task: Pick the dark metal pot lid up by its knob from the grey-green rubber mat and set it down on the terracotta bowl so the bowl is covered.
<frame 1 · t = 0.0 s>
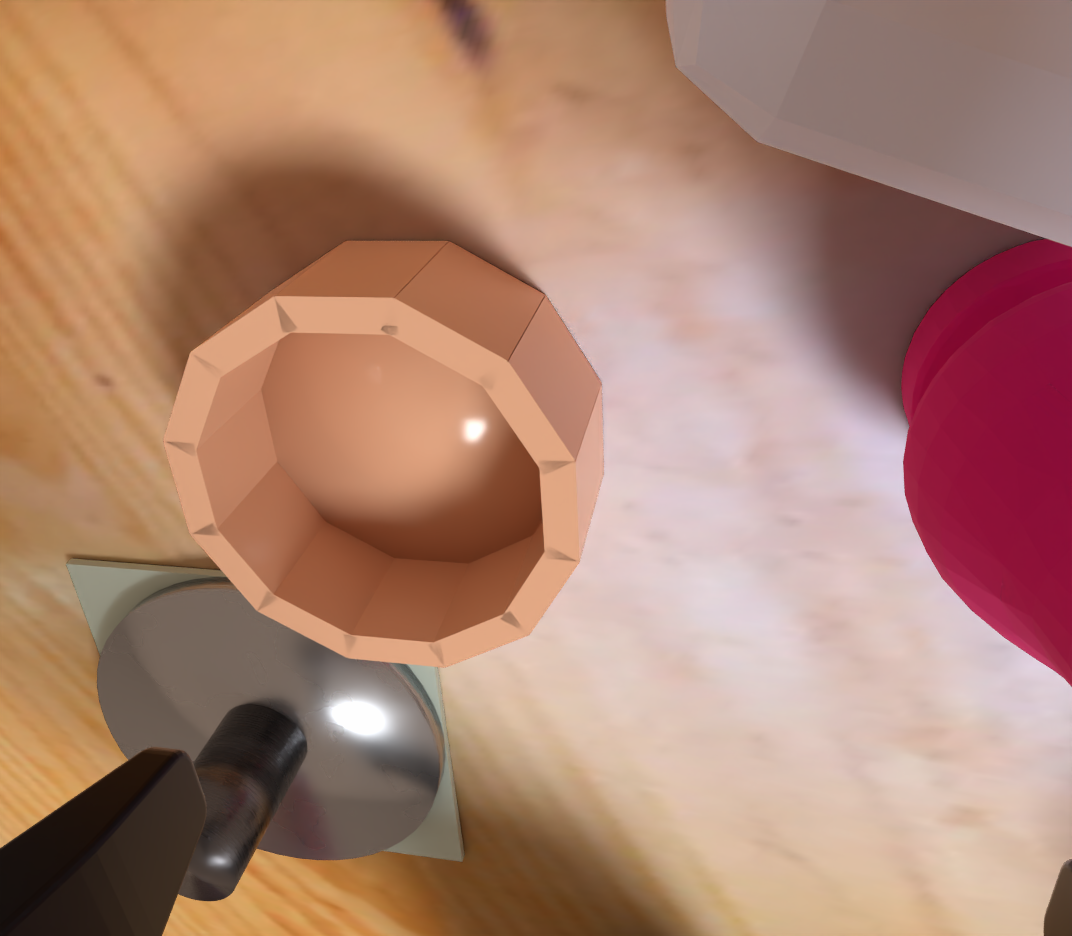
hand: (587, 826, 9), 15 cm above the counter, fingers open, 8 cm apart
lid: (275, 720, 32), resting on mat
bowl: (420, 422, 25), on the counter
mat: (278, 714, 32), on the counter
pepper mill: (1045, 365, 21), on the counter, touching gripper
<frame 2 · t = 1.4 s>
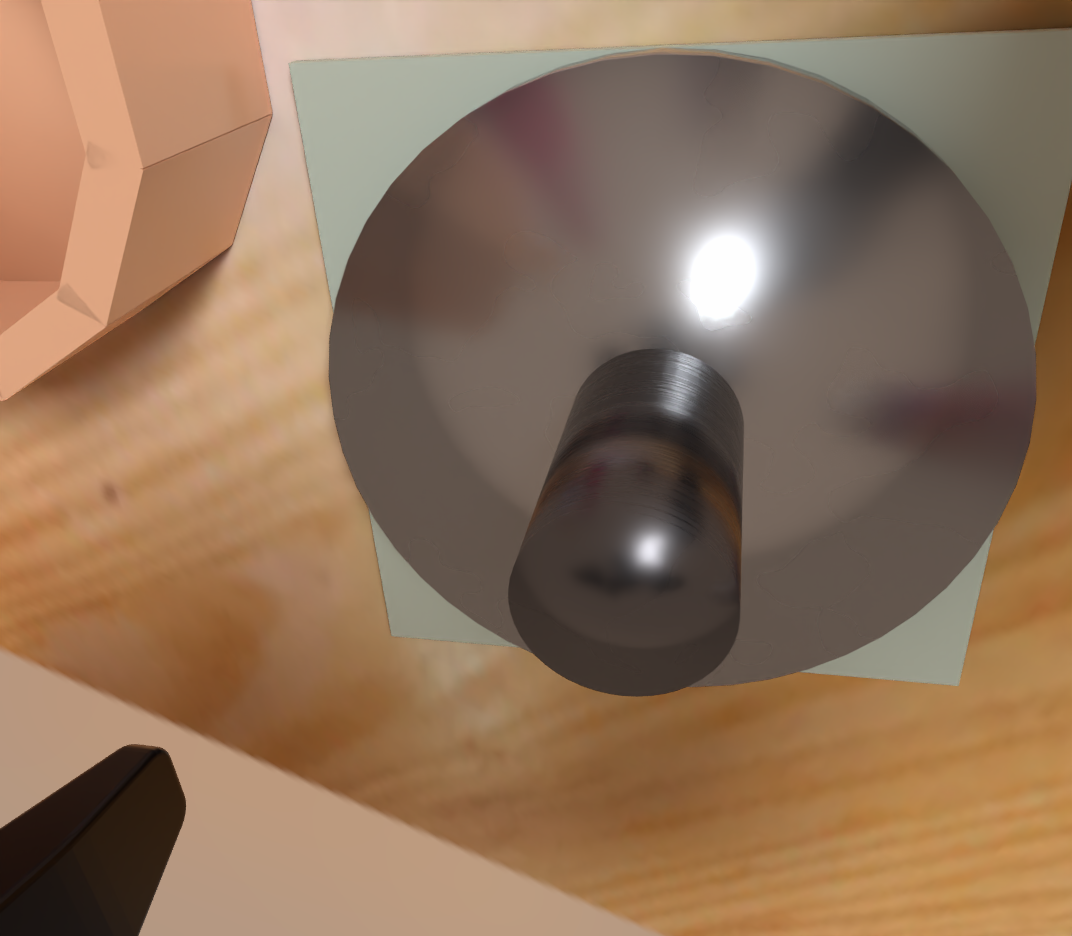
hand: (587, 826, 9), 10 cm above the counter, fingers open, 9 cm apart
lid: (659, 407, 17), resting on mat
mat: (661, 400, 17), on the counter
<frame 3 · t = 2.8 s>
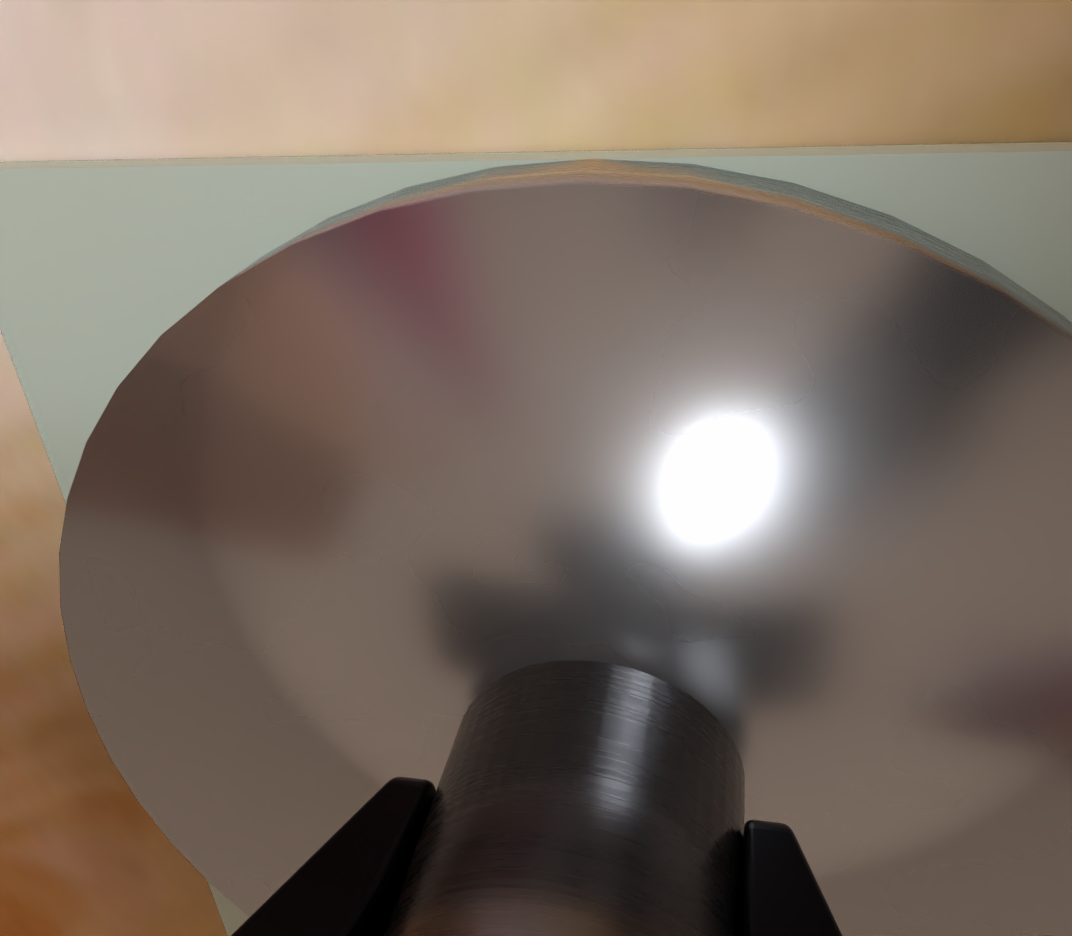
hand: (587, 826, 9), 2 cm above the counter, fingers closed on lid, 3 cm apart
lid: (607, 714, 10), resting on mat, touching gripper
mat: (610, 695, 11), on the counter
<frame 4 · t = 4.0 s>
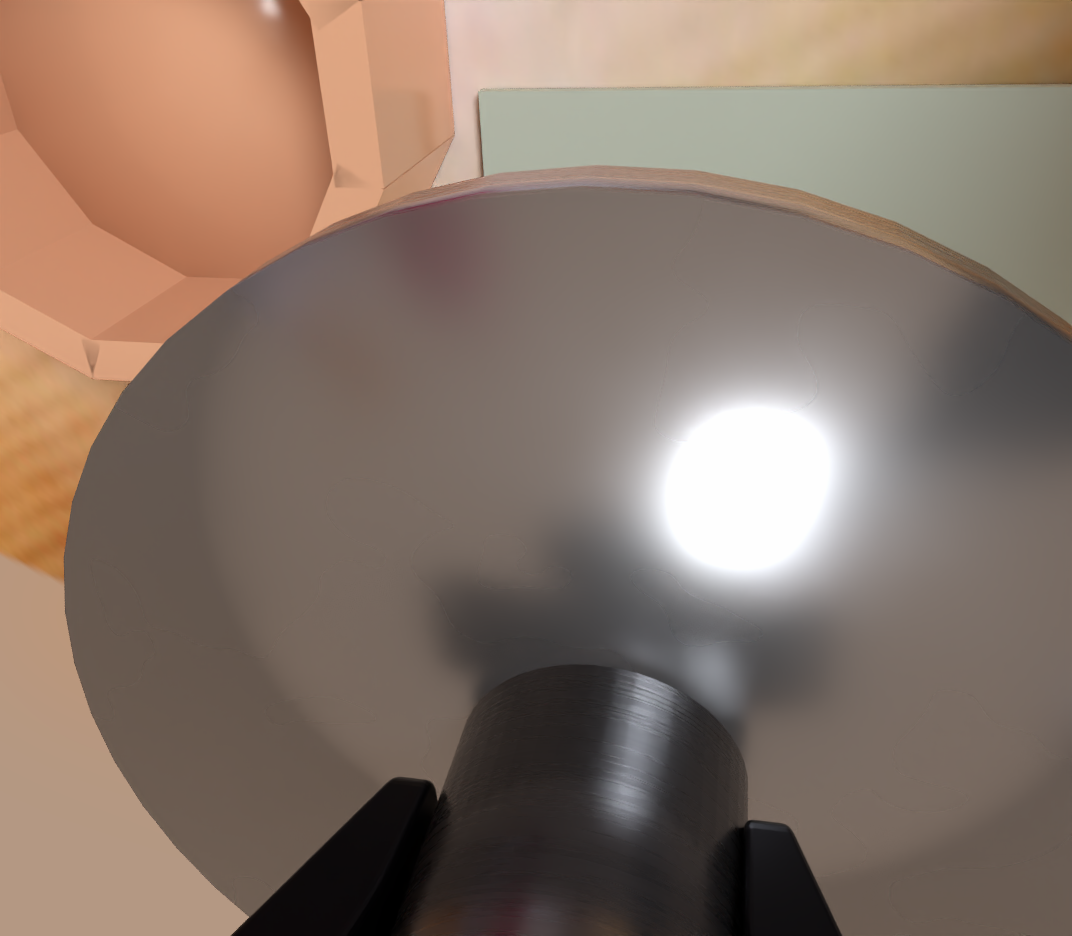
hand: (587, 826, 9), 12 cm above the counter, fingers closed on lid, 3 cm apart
lid: (610, 717, 10), point 10 cm above the counter, touching gripper
bowl: (205, 63, 18), on the counter
mat: (785, 397, 19), on the counter
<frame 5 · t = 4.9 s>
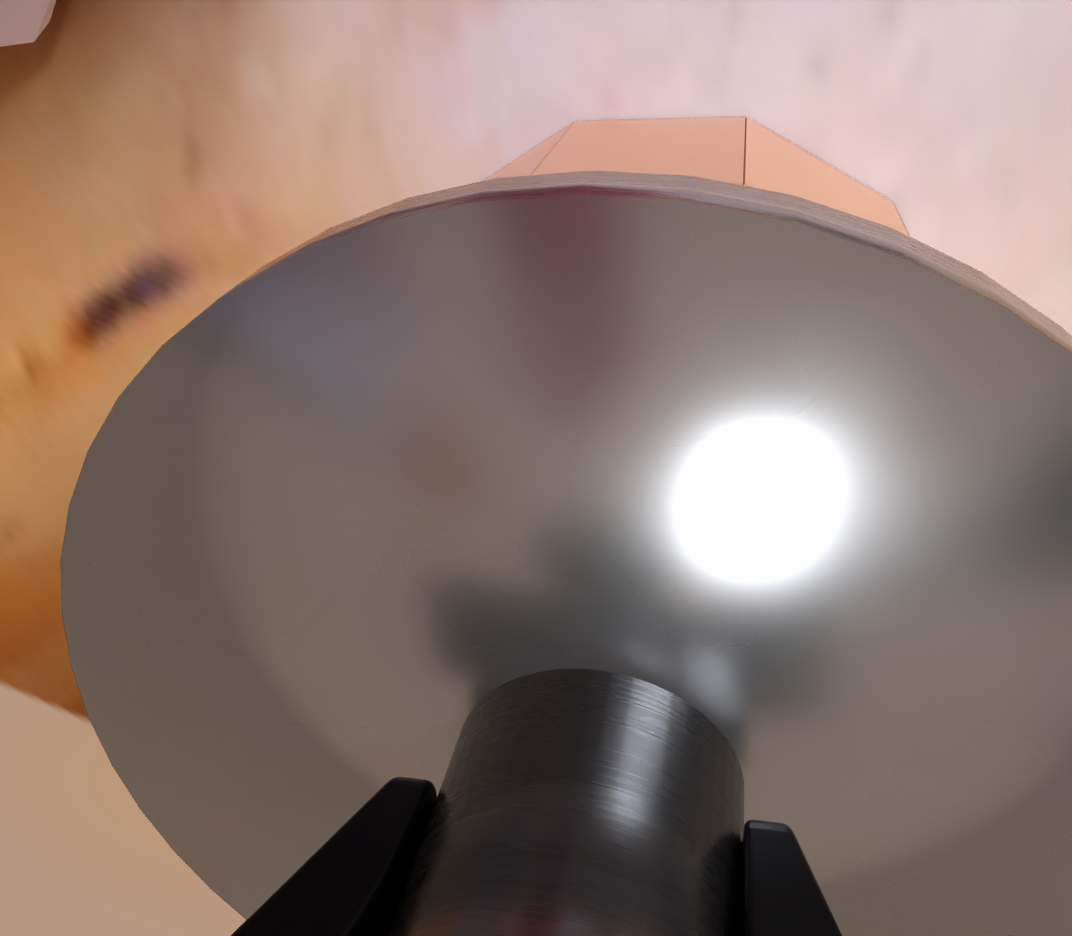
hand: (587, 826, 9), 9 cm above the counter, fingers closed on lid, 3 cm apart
lid: (607, 721, 10), point 8 cm above the counter, touching gripper
bowl: (657, 403, 17), on the counter
when the fingers open (6 cm above the counter, at t = 5.5 s): lid stays where it is, resting on bowl.
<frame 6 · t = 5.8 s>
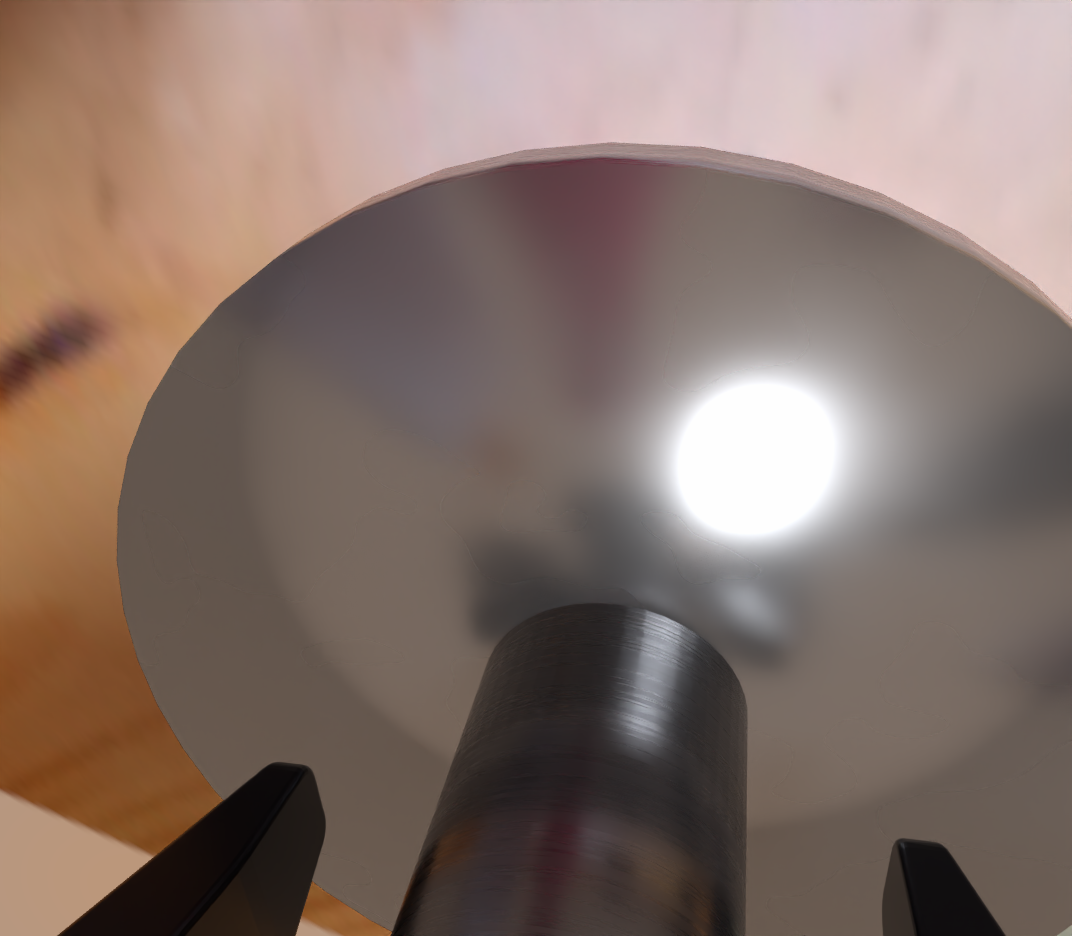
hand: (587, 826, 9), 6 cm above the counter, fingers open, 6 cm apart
lid: (620, 659, 11), point 4 cm above the counter, touching bowl
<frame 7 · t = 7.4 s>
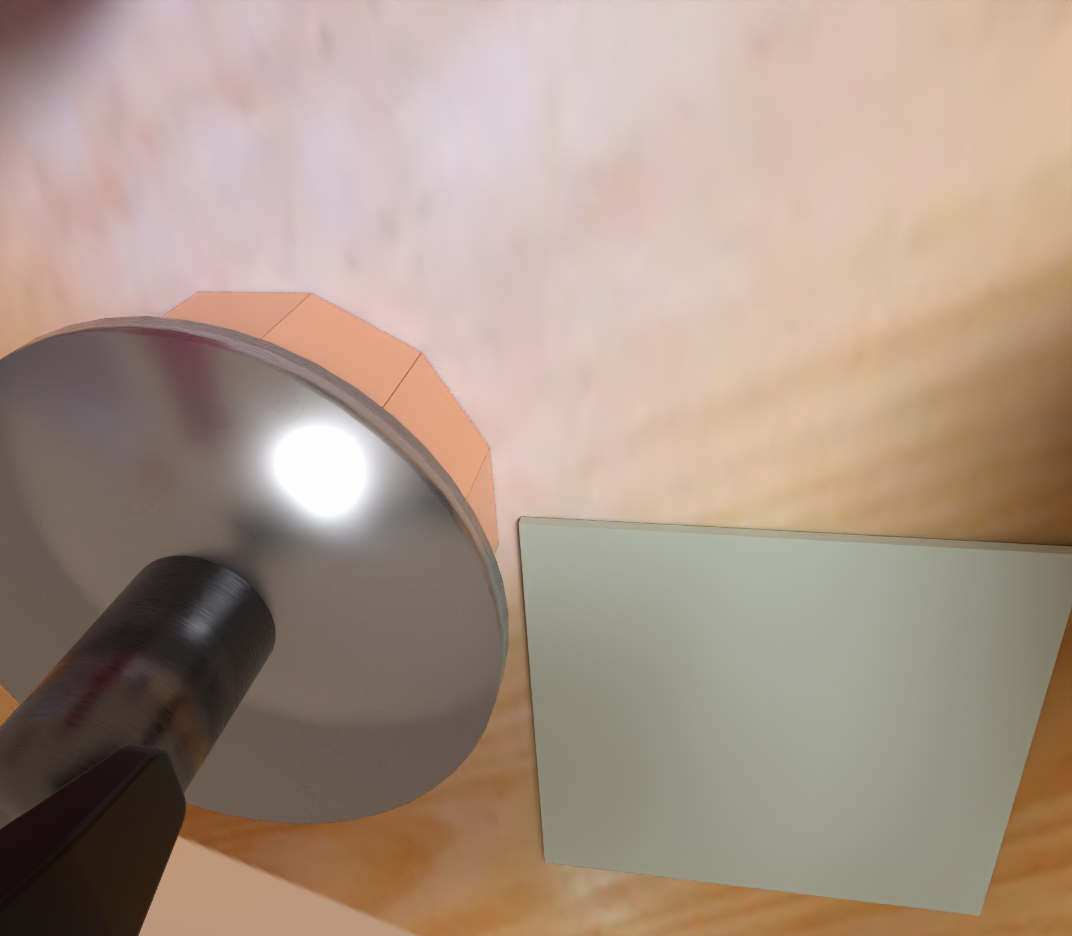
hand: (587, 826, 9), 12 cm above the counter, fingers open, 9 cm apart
lid: (222, 592, 19), point 4 cm above the counter, touching bowl
bowl: (296, 487, 22), on the counter
mat: (768, 727, 24), on the counter
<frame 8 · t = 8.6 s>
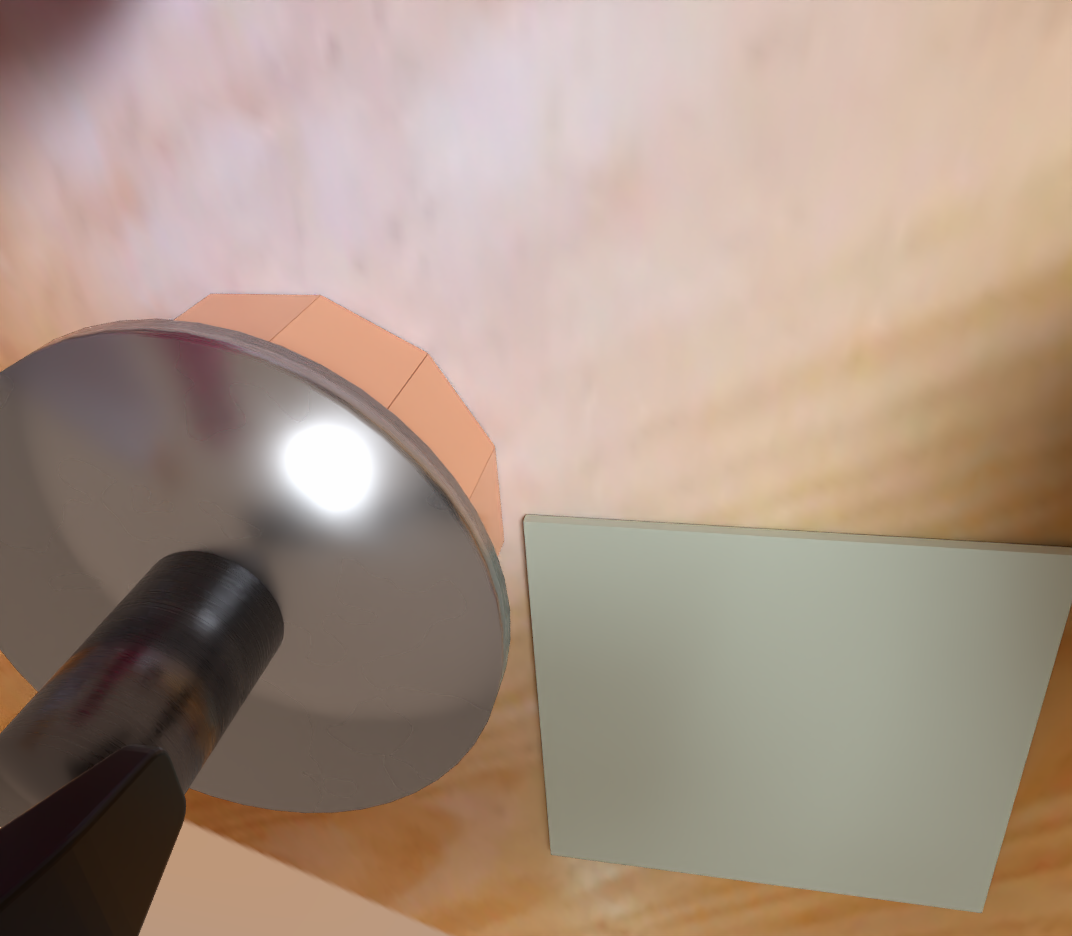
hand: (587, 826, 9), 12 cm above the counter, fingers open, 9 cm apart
lid: (232, 586, 20), point 4 cm above the counter, touching bowl
bowl: (306, 484, 23), on the counter
mat: (770, 723, 24), on the counter
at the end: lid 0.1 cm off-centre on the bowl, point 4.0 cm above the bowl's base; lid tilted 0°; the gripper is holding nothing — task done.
